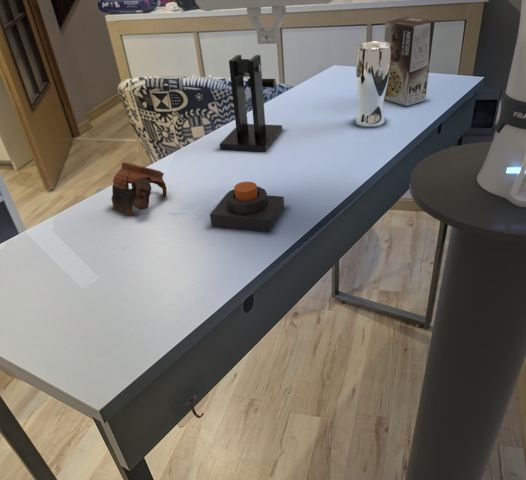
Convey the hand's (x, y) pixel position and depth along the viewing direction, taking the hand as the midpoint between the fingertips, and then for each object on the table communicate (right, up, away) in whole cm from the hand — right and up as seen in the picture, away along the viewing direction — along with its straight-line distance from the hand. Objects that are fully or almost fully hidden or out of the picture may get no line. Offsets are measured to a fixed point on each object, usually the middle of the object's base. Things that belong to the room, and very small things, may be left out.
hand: (268, 42), depth 76 cm
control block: (-3, -23, +10) cm, 25 cm away
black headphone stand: (-3, 0, +36) cm, 36 cm away
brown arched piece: (-22, -19, +16) cm, 34 cm away
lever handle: (-3, +10, +31) cm, 33 cm away
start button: (-4, -20, +7) cm, 22 cm away
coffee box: (+32, +15, +48) cm, 60 cm away
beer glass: (+23, +5, +38) cm, 45 cm away
